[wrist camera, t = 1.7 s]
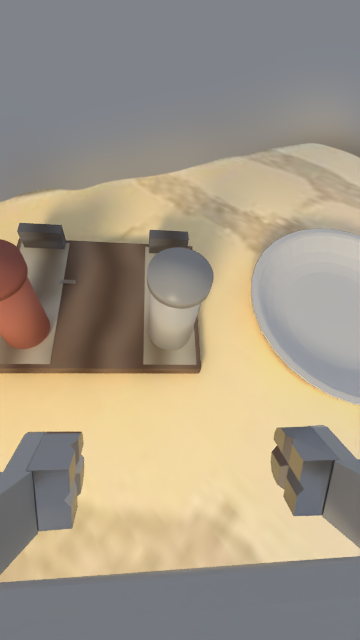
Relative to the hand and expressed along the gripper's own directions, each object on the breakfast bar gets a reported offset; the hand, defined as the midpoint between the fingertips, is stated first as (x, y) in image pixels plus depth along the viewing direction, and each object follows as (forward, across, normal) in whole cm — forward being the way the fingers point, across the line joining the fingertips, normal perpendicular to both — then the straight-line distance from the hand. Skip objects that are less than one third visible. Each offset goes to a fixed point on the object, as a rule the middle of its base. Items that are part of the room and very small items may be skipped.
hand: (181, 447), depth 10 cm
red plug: (+28, +14, +5) cm, 32 cm away
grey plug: (+28, -2, +5) cm, 28 cm away
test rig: (+32, +6, +4) cm, 33 cm away
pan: (+28, -26, +9) cm, 39 cm away
